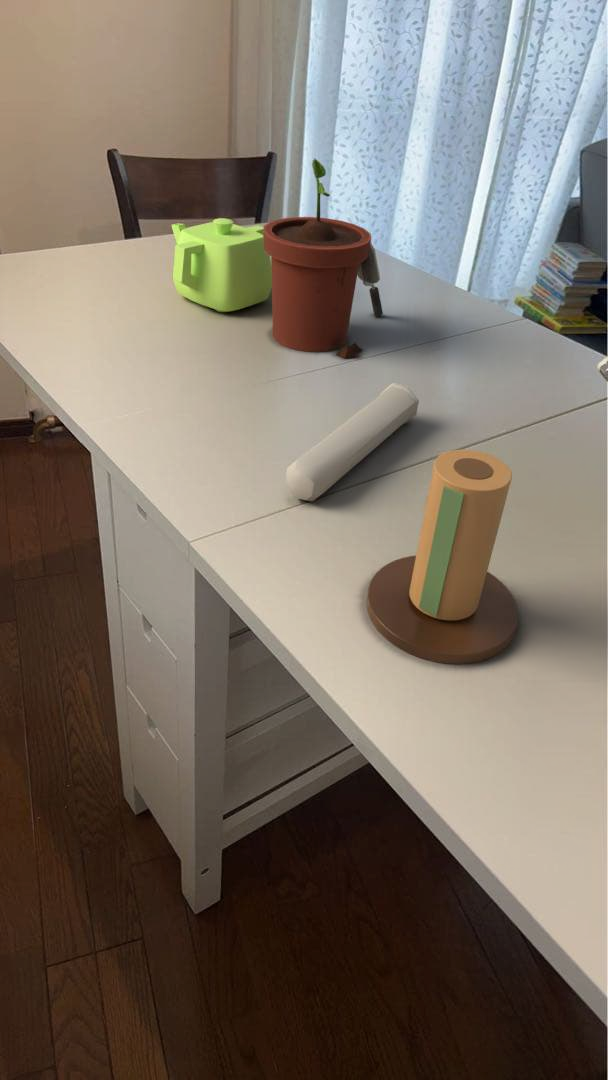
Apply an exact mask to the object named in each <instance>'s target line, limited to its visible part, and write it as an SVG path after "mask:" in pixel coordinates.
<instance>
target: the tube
mask: <svg viewBox="0 0 608 1080" xmlns="http://www.w3.org/2000/svg"><path fill="white" fill-rule="evenodd" d="M419 403H420V401H419V398H418V397H417V395H416V394H415V393H414V392H413V390H412V389H411V388H410V387H409V386H407V385H404V384H401V383H399V382H398V383H397V382H394V381H393V382H392V383H391V384H390V385H388V386H387V387H386V388H385V389H384V390H383V391H382V392H381V393H380V394H379V395H378V396H377V397H376V398H374V399H373V400H372V401H370V402H369V403H368V404H366V405H365V406H364V407H363V408H361V409H360V410H359V411H358V412H356V413H355V414H354V415H352V416H351V417H350V418H349V419H347V420H345V421H344V422H343V423H342V424H341V425H339V426H338V427H337V428H336V429H335V430H333V431H332V432H330V434H328V435H326V436H325V437H324V438H323V439H322V440H320V441H318V442H317V443H316V444H315V445H314V446H312V448H310V449H309V450H307V451H306V452H305V453H303V454H302V455H300V456H299V458H297V459H296V460H295V461H293V462H292V463H291V464H290V465H289V466H288V467H287V469H286V472H285V484H286V488H287V489H288V491H289V492H290V494H291V497H292V498H293V499H298V500H303V501H308V502H311V503H312V502H314V501H315V500H317V498H319V497H321V496H322V495H323V494H324V493H325V492H326V491H328V489H330V488H331V487H332V486H333V485H335V483H336V482H338V481H339V480H340V479H341V478H342V477H343V476H345V475H346V474H347V473H349V471H351V470H352V469H353V468H354V467H355V466H356V465H357V464H359V463H360V462H361V461H362V460H364V458H366V457H367V456H368V455H369V454H370V453H372V452H373V450H375V449H376V448H377V447H378V446H379V445H380V444H382V443H383V442H384V441H385V440H386V439H388V438H389V437H390V436H391V435H392V434H393V433H394V432H395V431H397V430H398V429H399V428H400V427H401V426H402V425H406V423H408V422H409V421H410V420H411V419H413V418H414V417H415V416H416V415H417V414H418V407H419Z"/></svg>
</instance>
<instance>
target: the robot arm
mask: <svg viewBox="0 0 608 1080" xmlns="http://www.w3.org/2000/svg"><path fill="white" fill-rule="evenodd" d="M596 369H597V371H598V372H599V374H600V376H601V378H603V379H604V380H605V381H606V382H607V383H608V356H606V357H605V358H604V359H602V360H601V361H599V362H598V364H597V365H596Z"/></svg>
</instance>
